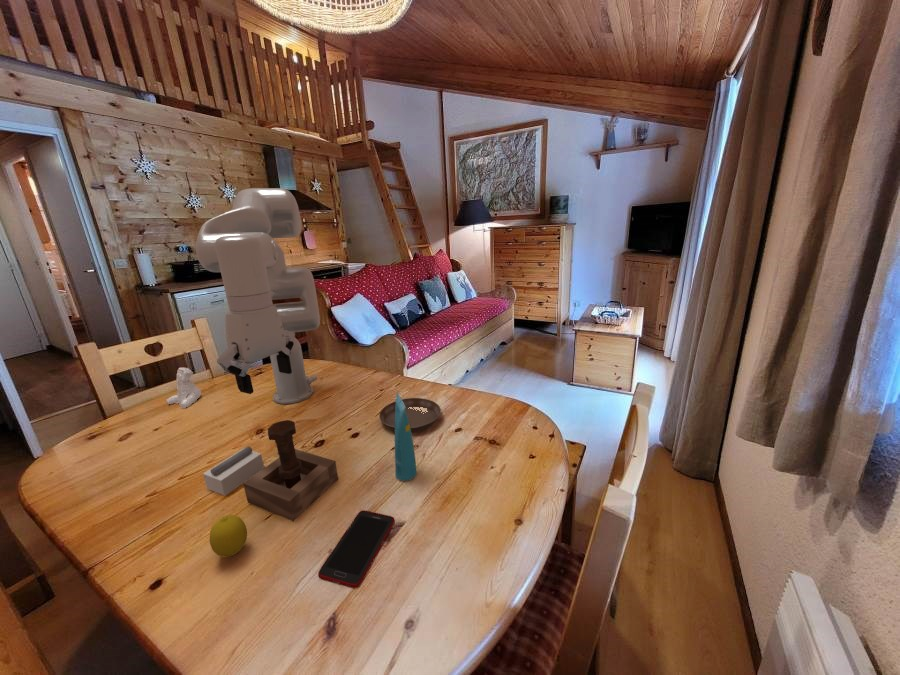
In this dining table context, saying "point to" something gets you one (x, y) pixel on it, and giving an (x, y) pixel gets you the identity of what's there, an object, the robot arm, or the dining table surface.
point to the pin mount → (233, 471)
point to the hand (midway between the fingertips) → (267, 382)
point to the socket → (292, 502)
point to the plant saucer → (412, 414)
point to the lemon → (228, 535)
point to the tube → (403, 444)
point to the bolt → (286, 451)
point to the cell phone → (356, 549)
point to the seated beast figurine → (185, 389)
